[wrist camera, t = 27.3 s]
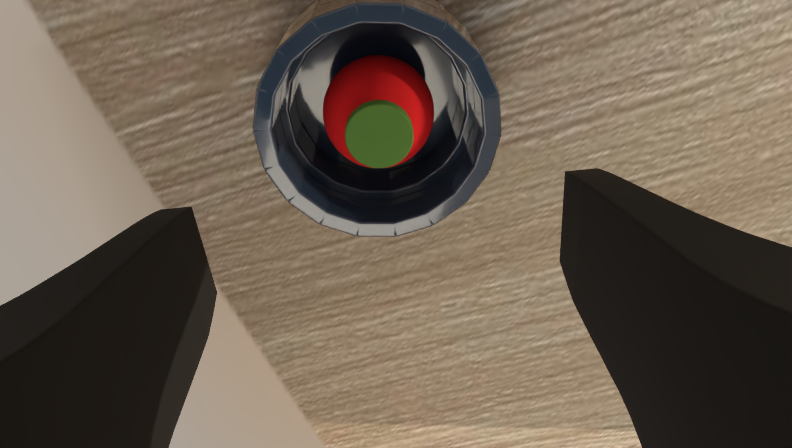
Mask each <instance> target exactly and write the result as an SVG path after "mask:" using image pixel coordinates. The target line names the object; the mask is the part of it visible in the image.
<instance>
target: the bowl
mask: <svg viewBox="0 0 792 448" xmlns="http://www.w3.org/2000/svg"><path fill="white" fill-rule="evenodd" d="M370 55H386V56H391V57H394V58H397V59H400V60H402V61H404V62H406V63H407V64H409V65H410V66H412V67H413V68H414V69H415V70H417V71H418V73H419V74H420V75H421V76H422V77H423V79H424V80H425V82H426V83H427V85H428V87H429V89H430V92H431V95H432V98H433V103H434V121H433V126H432V129H431V132H430V135H429V137H428V139H427V141H426V142H425V144H424V145H423V147H422V148H421V149H420V150H419V151H418V152H417V153H416V154H415V155H414V156H413V157H412V158H410V159H409V160H407V161H405V162H403V163H401V164H399V165H396V166H393V167H388V168H369V167H365V166H361V165H358V164H356V163H354V162H352V161H350V160H349V159H347V158H346V157H345V156H343V155H342V154H341V153H340V152H339V151H338V150H337V149H336V148H335V146H334V145H333V144H332V142H331V140H330V139H329V136H328V134H327V132H326V129H325V125H324V121H323V102H324V97H325V94H326V91H327V89H328V86H329V84H330V83H331V81H332V79H333V78H334V77H335V75H336V74H337V73H338V72H339V71H340V70H341V69H342V68H343V67H345V66H346V65H348V64H349V63H351V62H352V61H354V60H356V59H359V58H362V57H366V56H370ZM253 129H254V130H253V133H254V137H255V140H256V144H257V147H258V151H259V154H260V158H261V161H262V165H263V167H264V168H265V171H266V173H267V174H268V176H269V177H270V178H271V180H272V181H273V182H274V184H275V185H276V187H277V188H278V189H279V191H280V192H281V194H282V195H283V196H284V198H285V199H286V200H287V201H288V202H289V203H290V204H291V205H293V206H294V207H296V208H297V209H298V210H300V211H301V212H303V213H304V214H305V215H307V216H308V217H310V218H311V219H313V220H314V221H315V222H317V223H318V224H321V225H323V226H326V227H329V228H332V229H335V230H338V231H342V232H345V233H348V234H351V235H354V236H368V237H395V236H400V235H403V234H407V233H410V232H413V231H417V230H420V229H423V228H427V227H430V226H432V225H433V224H434V225H435V224H436V223H438V222H439V221H441V220H442V219H444V218H445V217H447V216H448V215H450V214H451V213H452V212H454V211H455V210H457V209H458V208H460V207H461V206H463V205H464V204H465V203H466V202H467V201H468V200H469V198H470V197H471V196H472V194H473V193H474V192H475V191H476V189H477V188H478V187H479V185H480V184H481V183H482V181H483V180H484V179H485V177H486V176H487V175H488V173H489V171H490V169H491V166H492V163H493V160H494V156H495V153H496V150H497V147H498V144H499V140H500V137H501V131H502V130H501V113H500V96H499V93H498V88H497V86H496V84H495V82H494V80H493V77H492V75H491V73H490V71H489V69H488V67H487V64H486V62H485V60H484V58H483V56H482V54H481V52H480V51H479V49H478V48H477V46H476V44H475V43H474V41H473V40H472V38H471V36H470V35H469V33H468V32H467V30H466V29H465V27H464V26H463V25H462V24H461V23H460V22H459V21H458V20H457V19H456V18H455V17H454V16H453V15H452V14H451V13H450V12H449V11H447V10H446V9H445V8H444V7H443V6H442V5H441V4H440V3H439V2H437V1H436V0H317V1H316V2H314V3H313V4H312V5H311V6H310V7H309V8H308V9H307V10H305V11H304V12H303V13H302V14H301V15H300V16H299V17H297V18H296V19H295V20H294V21H293V22H292V23H291V25H289V27H288V29H287V31H286V32H285V34H284V36H283V38H282V39H281V41H280V43H279V45H278V47H277V48H276V50H275V52H274V54H273V56H272V58H271V60H270V62H269V64H268V66H267V68H266V70H265V72H264V74H263V76H262V78H261V79H260V81H259V83H258V85H257V89H256V97H255V108H254V119H253Z"/></svg>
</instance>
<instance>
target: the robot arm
mask: <svg viewBox="0 0 792 448" xmlns="http://www.w3.org/2000/svg"><path fill="white" fill-rule="evenodd" d="M560 263H561V266H562V270H563V273H564V276H565V279H566V282H567V285H568V288H569V291H570V294H571V296H572V299H573V302H574V304H575V306H576V308H577V310H578V312H579V314H580V316H581V318H582V320H583V322H584V324H585V326H586V328H587V330H588V332H589V334H590V336H591V338H592V340H593V342H594V344H595V346H596V348H597V350H598V351H599V353H600V355H601V357H602V359H603V361H604V363H605V365H606V367H607V369H608V371H609V373H610V375H611V377H612V379H613V381H614V382H615V384H616V386H617V388H618V390H619V392H620V394H621V396H622V399H623V401H624V403H625V405H626V407H627V410H628V412H629V414H630V417H631V419H632V422H633V424H634V427H635V430H636V432H637V435H638V438H639V440H640V443H641V446H642V448H792V247H788V246H785V245H782V244H779V243H776V242H773V241H770V240H767V239H764V238H761V237H757V236H754V235H751V234H748V233H746V232H743V231H740V230H737V229H735V228H732V227H729V226H727V225H724V224H722V223H720V222H717V221H715V220H712V219H710V218H707V217H705V216H702V215H700V214H698V213H695V212H693V211H691V210H688V209H686V208H684V207H682V206H679V205H677V204H675V203H673V202H671V201H669V200H667V199H664V198H662V197H660V196H658V195H656V194H654V193H652V192H650V191H648V190H646V189H644V188H641V187H639V186H637V185H635V184H633V183H631V182H629V181H627V180H625V179H623V178H620V177H618V176H616V175H614V174H611V173H609V172H606V171H604V170H601V169H586V170H576V171H565V183H564V199H563V216H562V232H561V248H560ZM216 295H217V291H216V287H215V284H214V281H213V277H212V274H211V270H210V267H209V264H208V260H207V257H206V254H205V250H204V247H203V244H202V240H201V237H200V233H199V230H198V227H197V223H196V220H195V217H194V213H193V210H192V207H183V208H173V209H162V210H159V211H157V212H154V213H152V214H150V215H149V216H147V217H145V218H143V219H142V220H140V221H138V222H137V223H135V224H133V225H132V226H130V227H129V228H127V229H126V230H124V231H123V232H121V233H120V234H118V235H117V236H115V237H113V238H112V239H110V240H109V241H107V242H106V243H104V244H103V245H101V246H100V247H98V248H97V249H95V250H94V251H92V252H91V253H89V254H88V255H86V256H85V257H83V258H81V259H80V260H78V261H77V262H75V263H73V264H72V265H70V266H69V267H67V268H65V269H64V270H62V271H60V272H59V273H57V274H55V275H54V276H52V277H50V278H49V279H47V280H45V281H44V282H42V283H40V284H39V285H37V286H35V287H34V288H32V289H31V290H29V291H27V292H25V293H23V294H21V295H20V296H18V297H16V298H14V299H13V300H11V301H9V302H7V303H5V304H3V305H1V306H0V448H168V447H169V444H170V441H171V438H172V435H173V432H174V429H175V426H176V423H177V421H178V418H179V416H180V413H181V410H182V407H183V405H184V402H185V399H186V396H187V394H188V391H189V388H190V386H191V383H192V380H193V377H194V375H195V372H196V370H197V367H198V364H199V361H200V358H201V356H202V353H203V350H204V347H205V344H206V341H207V339H208V336H209V331H210V327H211V322H212V317H213V312H214V307H215V300H216Z"/></svg>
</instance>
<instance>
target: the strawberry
mask: <svg viewBox="0 0 792 448" xmlns="http://www.w3.org/2000/svg"><path fill="white" fill-rule="evenodd" d="M323 121H324V125H325V129H326V132H327V134H328V136H329V139H330V140H331V142H332V144H333V145H334V146H335V148H336V149H337V150H338V151H339V152H340V153H341V154H342V155H343V156H345V157H346V158H347V159H349V160H350V161H352V162H354V163H356V164H358V165H361V166H365V167H369V168H388V167H393V166H396V165H399V164H401V163H403V162H405V161H407V160H409V159H410V158H412V157H413V156H414V155H415V154H416V153H417V152H418V151H419V150H420V149H421V148H422V147H423V145H424V144H425V142H426V141H427V139H428V137H429V135H430V132H431V129H432V126H433V121H434V103H433V98H432V95H431V92H430V89H429V87H428V85H427V83H426V82H425V80H424V79H423V77H422V76H421V75H420V74H419V73H418V71H417V70H415V69H414V68H413V67H412V66H410V65H409V64H407V63H406V62H404V61H402V60H400V59H397V58H394V57H391V56H386V55H370V56H366V57H362V58H359V59H356V60H354V61H352V62H351V63H349V64H348V65H346V66H345V67H343V68H342V69H341V70H340V71H339V72H338V73H337V74H336V75H335V77H334V78H333V79H332V81H331V83H330V84H329V86H328V89H327V91H326V94H325V97H324V102H323Z"/></svg>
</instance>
